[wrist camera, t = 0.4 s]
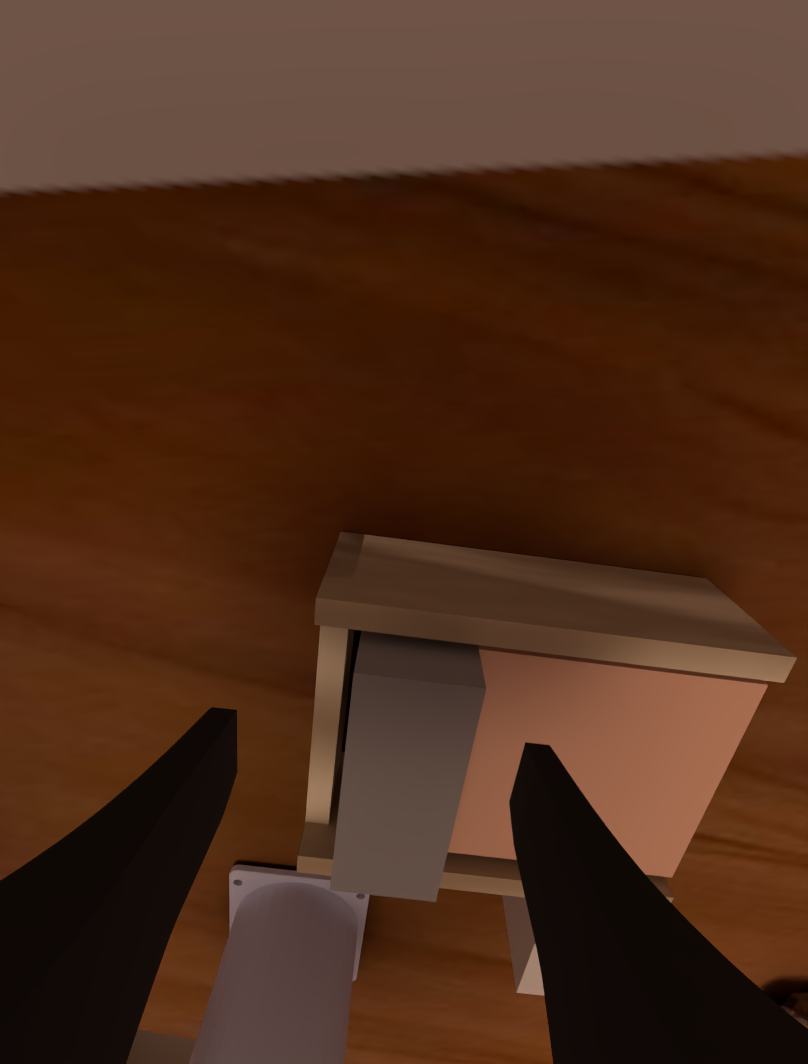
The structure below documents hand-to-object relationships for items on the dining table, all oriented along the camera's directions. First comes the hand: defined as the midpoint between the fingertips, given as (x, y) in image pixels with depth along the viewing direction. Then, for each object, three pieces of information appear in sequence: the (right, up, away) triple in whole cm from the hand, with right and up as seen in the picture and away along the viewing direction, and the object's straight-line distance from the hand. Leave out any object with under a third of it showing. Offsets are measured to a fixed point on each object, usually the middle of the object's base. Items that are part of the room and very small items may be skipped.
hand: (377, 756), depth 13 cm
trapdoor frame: (+5, -1, +11) cm, 12 cm away
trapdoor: (+5, -3, +7) cm, 10 cm away
